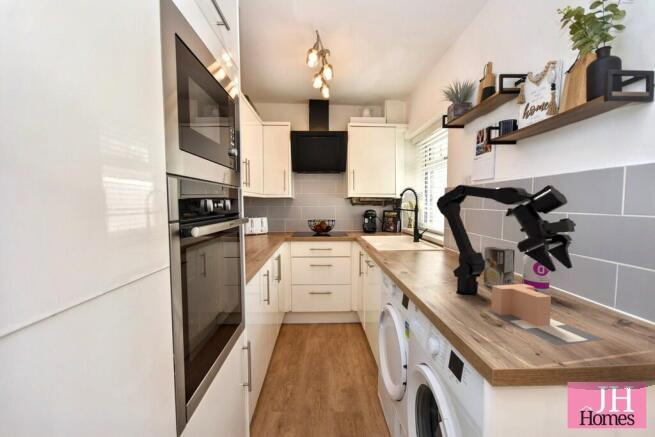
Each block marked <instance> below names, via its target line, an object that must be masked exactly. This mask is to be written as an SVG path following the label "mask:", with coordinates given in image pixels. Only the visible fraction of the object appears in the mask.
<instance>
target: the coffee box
mask: <svg viewBox="0 0 655 437" xmlns="http://www.w3.org/2000/svg"><path fill="white" fill-rule="evenodd" d="M515 255H516V254H515V249H512V248H511V249H510V248H505V247H498V246H488V247H484V256H483V259H484V261H485V262H486V263H484V264H485V269H484V271H483V285H484V286H486V287H490V288H492V286H497V285H514V283H515V281H514V279H515V277H514V276H515Z"/></svg>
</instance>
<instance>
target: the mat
mask: <svg viewBox="0 0 655 437" xmlns="http://www.w3.org/2000/svg"><path fill="white" fill-rule="evenodd" d="M485 311H486V312H487V313H489V314H492V315H494V316H496V317H497V318H500V319H501V320H504V321H506V322H508V323H510V324H512V325H514V326H517V328H520V329H522V330H525V331H526V332H529V333H530V334H532V335H535V336H536V337H539V338H540V339H542V340H545V341H546V342H549V343H551V344H553V345H555V346H562V345H569V344H577V343H578V344H579V343H585V342H586V343H587V342H595V341H601V340H604V341H605V338H602V337H601V336H598V335H596V334H595V335H594V334H592V333H590V332H587V331H585V330H582V329H581V328H578V327H575V326H572V325H570V324H567V323H565V322H562V321H560V320H557V319H555V318H552V317H550V325H542V326H535V325H533V324H531V323H529V322H526V321H524V320H522V319H520V318H518V317H515V316H513V315H498V314H496V313H494V312H492V311H491V309H490V310H489V309H488V310H485Z"/></svg>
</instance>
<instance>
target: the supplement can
mask: <svg viewBox="0 0 655 437" xmlns="http://www.w3.org/2000/svg"><path fill="white" fill-rule="evenodd" d="M521 277H522V279H521V280H522V281H521V284H526V285H529V286H533V287H535V290H534V291H536V292H539V293H543V294H546V295H549V296H550V279H551V271H550V270H548V269H547V268H546V267H544V266H543V265H541V264H540V263H538V262H537V261H535V260H534V259H532V258H531V257H529V256H528V255H525V254H524V256H523V259H522V276H521Z"/></svg>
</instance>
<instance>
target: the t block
mask: <svg viewBox="0 0 655 437" xmlns="http://www.w3.org/2000/svg"><path fill="white" fill-rule="evenodd" d="M534 290H535V287H533V286H529V285H526V284H522V283H520V284H519V283H517V284H514V285H497V286H492V287H491V308H490V310H491V311H492V312H494V313H496V314H498V315H513V316H515V317H518V318H520V319H522V320H524V321H526V322H529V323H531V324H533V325H535V326H542V325H550V318H551V309H552V307H551V306H552V296H551V295H550V294H549V295H546V294H543V293H539V292H536V291H534Z"/></svg>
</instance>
